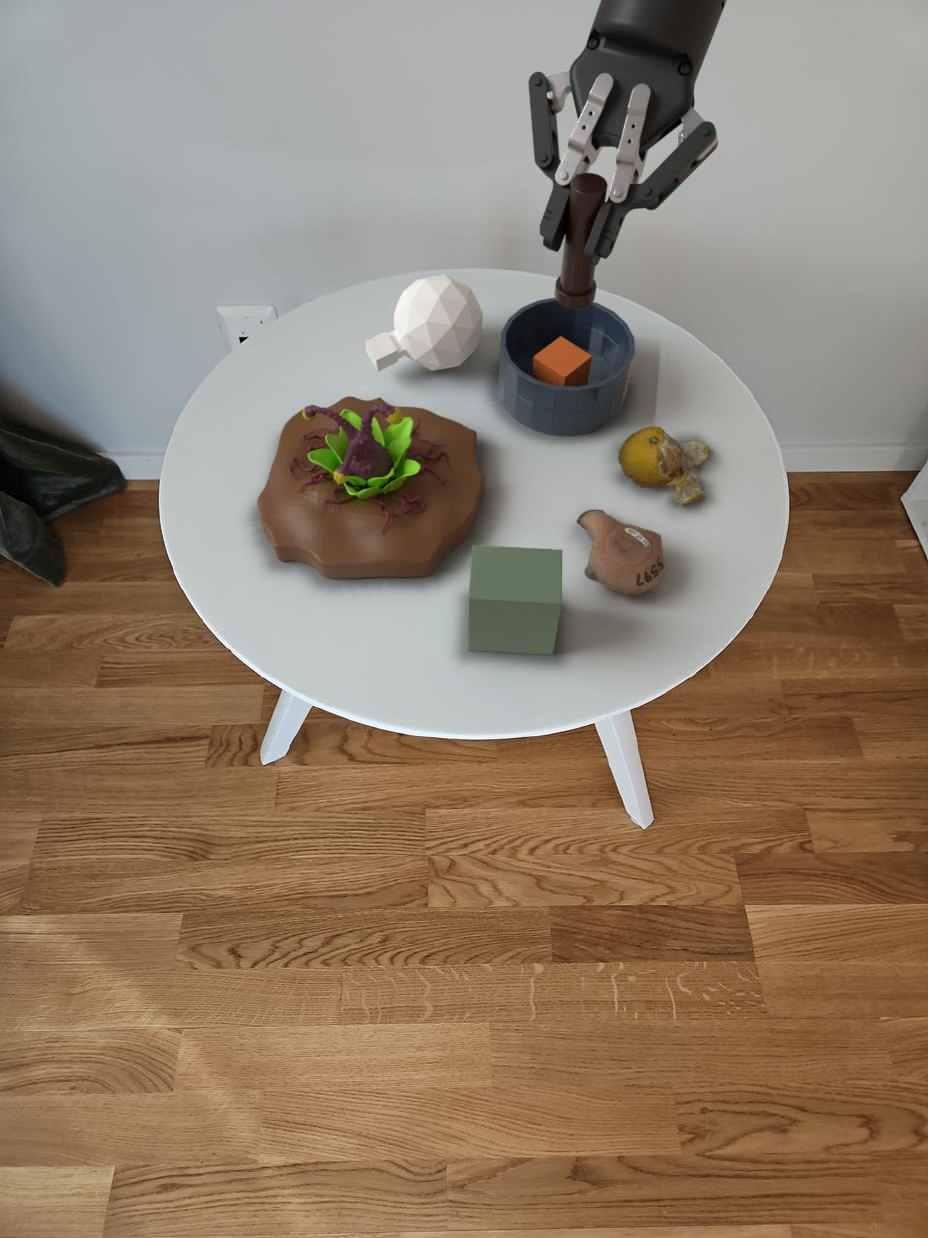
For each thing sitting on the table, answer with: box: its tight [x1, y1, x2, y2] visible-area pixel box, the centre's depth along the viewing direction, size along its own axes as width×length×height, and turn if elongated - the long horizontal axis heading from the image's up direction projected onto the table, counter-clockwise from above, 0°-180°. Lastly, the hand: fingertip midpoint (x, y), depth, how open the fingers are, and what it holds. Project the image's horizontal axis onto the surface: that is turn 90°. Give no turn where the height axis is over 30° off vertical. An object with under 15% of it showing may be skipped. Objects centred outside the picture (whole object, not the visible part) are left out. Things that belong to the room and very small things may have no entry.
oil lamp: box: [576, 509, 667, 595], centre depth 78 cm, size 9×4×8 cm
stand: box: [467, 544, 563, 656], centre depth 72 cm, size 7×5×8 cm
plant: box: [256, 395, 485, 579], centre depth 78 cm, size 20×20×11 cm
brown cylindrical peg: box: [554, 172, 609, 309], centre depth 63 cm, size 3×3×9 cm
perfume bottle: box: [364, 273, 484, 373], centre depth 88 cm, size 9×9×12 cm
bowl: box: [497, 297, 636, 437], centre depth 87 cm, size 13×13×6 cm
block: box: [532, 336, 592, 387], centre depth 87 cm, size 4×4×4 cm
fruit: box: [617, 426, 710, 506], centre depth 83 cm, size 8×8×4 cm
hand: (570, 253), depth 62 cm, fingers closed on brown cylindrical peg, 2 cm apart
